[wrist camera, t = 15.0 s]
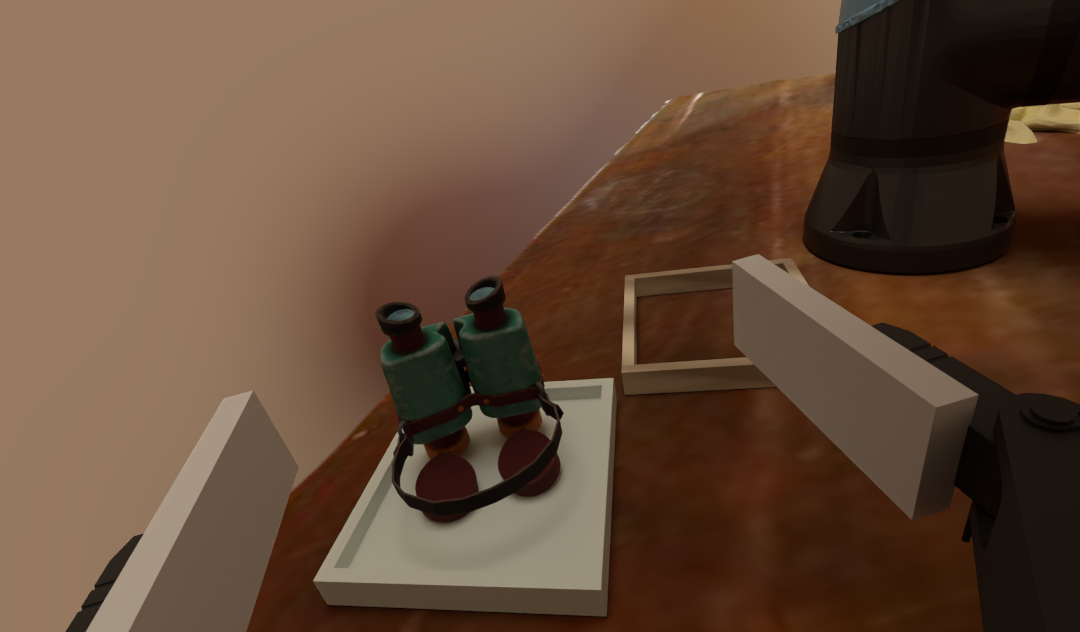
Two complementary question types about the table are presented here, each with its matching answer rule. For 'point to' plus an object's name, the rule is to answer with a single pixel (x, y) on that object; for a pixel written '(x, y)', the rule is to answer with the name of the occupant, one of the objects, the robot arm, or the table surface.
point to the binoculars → (467, 402)
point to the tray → (490, 526)
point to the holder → (689, 372)
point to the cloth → (1042, 121)
